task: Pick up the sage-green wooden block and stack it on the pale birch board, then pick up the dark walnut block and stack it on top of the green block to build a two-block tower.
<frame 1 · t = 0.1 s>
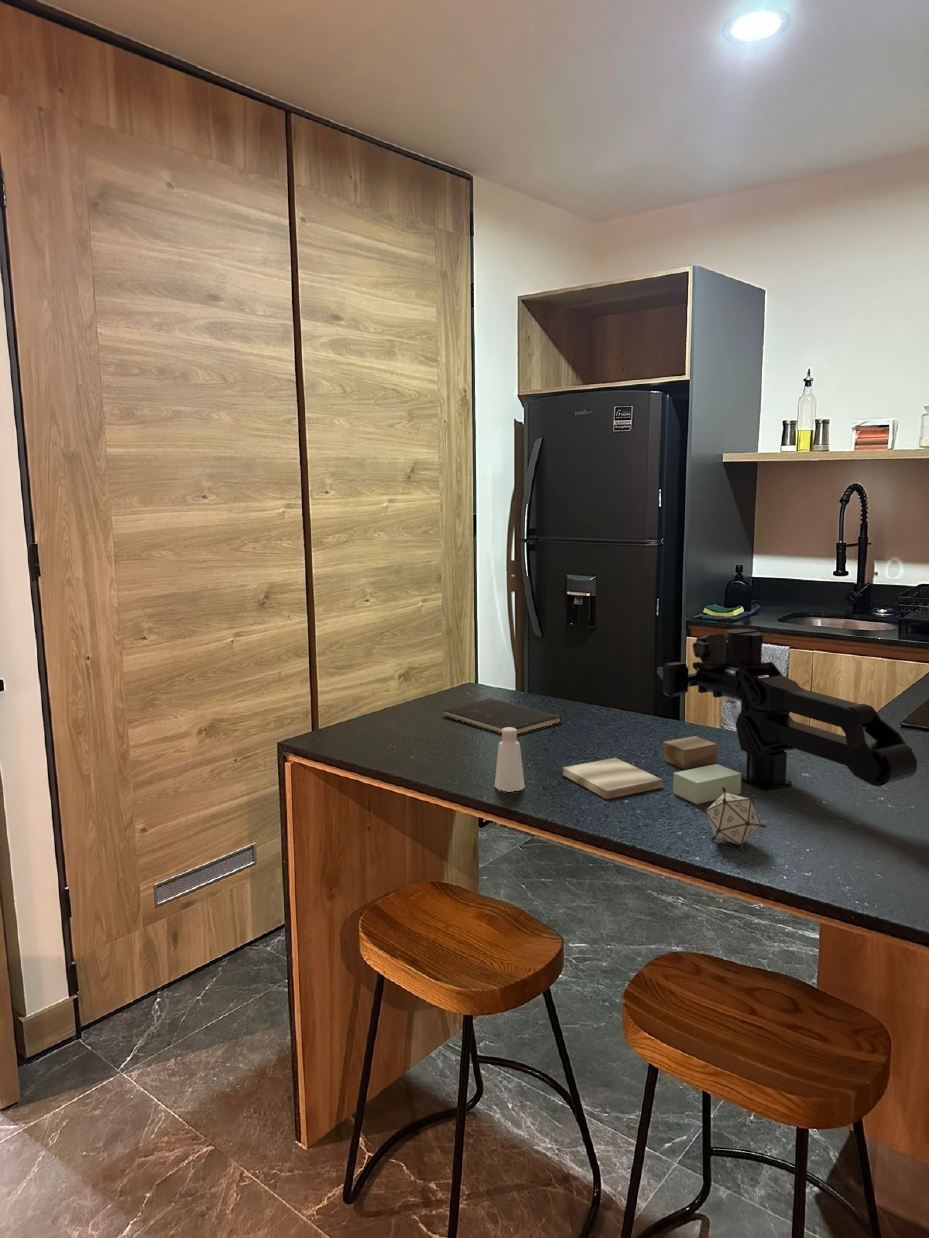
hand: (675, 667, 178), 17 cm above the counter, tool horizontal, fingers open, 9 cm apart
salt shaker: (509, 788, 157), on the counter
birch board: (611, 781, 160), on the counter
green block: (706, 794, 153), on the counter
game die: (731, 844, 132), on the counter
walnut block: (689, 762, 170), on the counter
hardcover book: (501, 722, 202), on the counter
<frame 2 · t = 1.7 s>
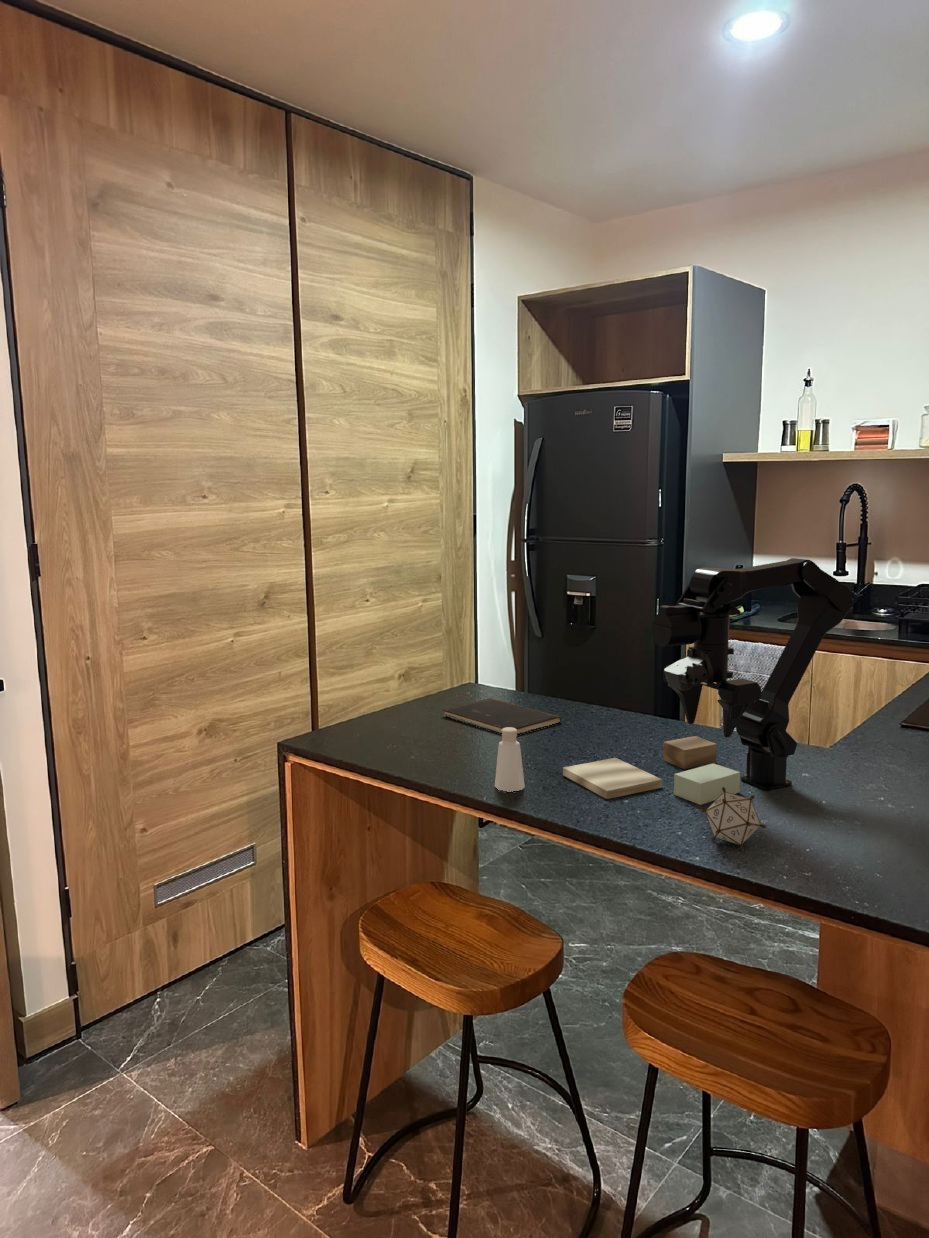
hand: (708, 730, 151), 11 cm above the counter, tool pointing down, fingers open, 9 cm apart
nothing on the counter moved.
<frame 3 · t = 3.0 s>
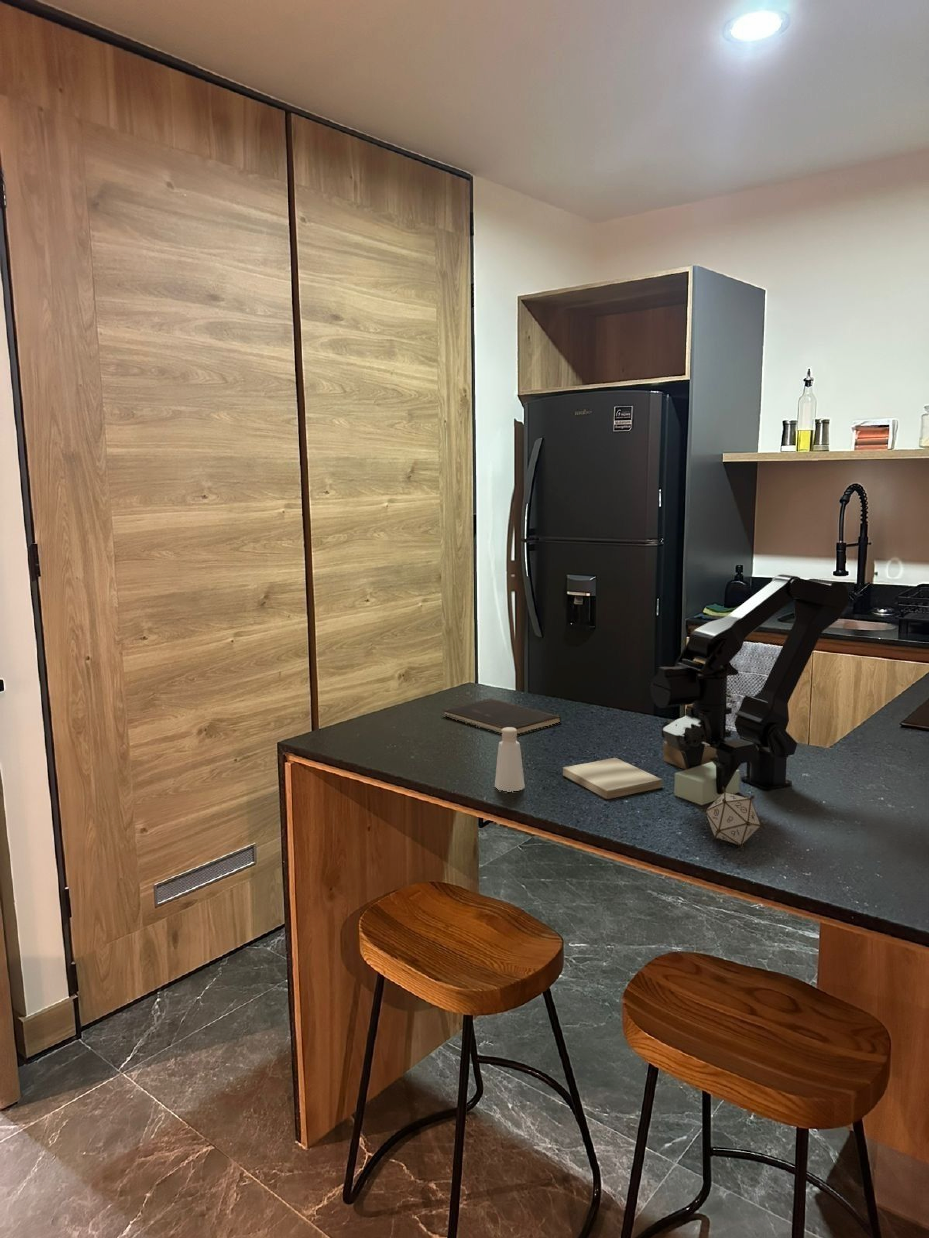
hand: (706, 787, 153), 1 cm above the counter, tool pointing down, fingers closed on green block, 6 cm apart
green block: (706, 793, 153), on the counter, touching gripper
everything else where it was.
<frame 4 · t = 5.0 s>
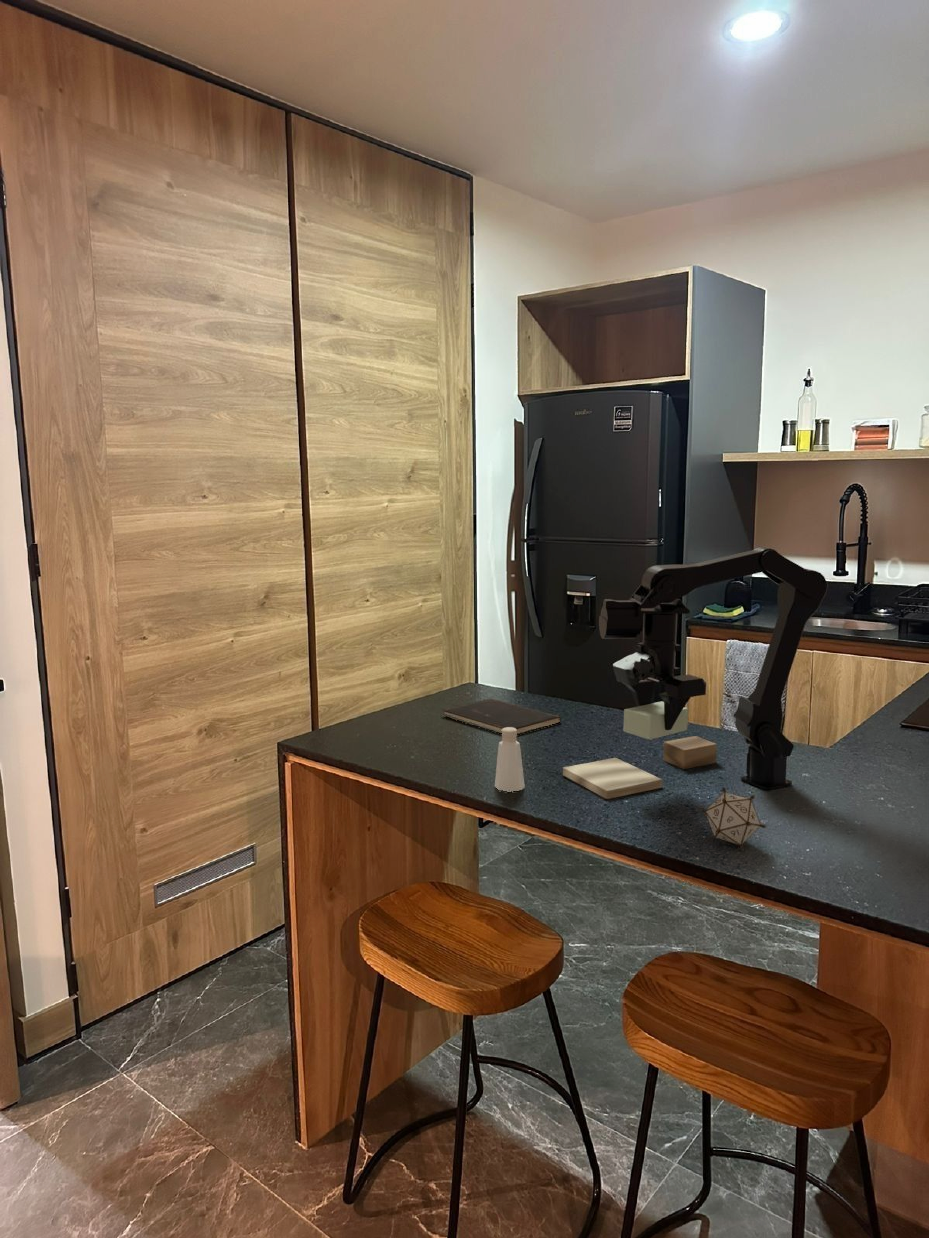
hand: (655, 725, 155), 12 cm above the counter, tool pointing down, fingers closed on green block, 6 cm apart
green block: (655, 730, 155), point 11 cm above the counter, touching gripper
everything else where it was.
when the fingers open (4 cm above the counter, at t = 7.2 s): green block drops 1 cm, resting on birch board.
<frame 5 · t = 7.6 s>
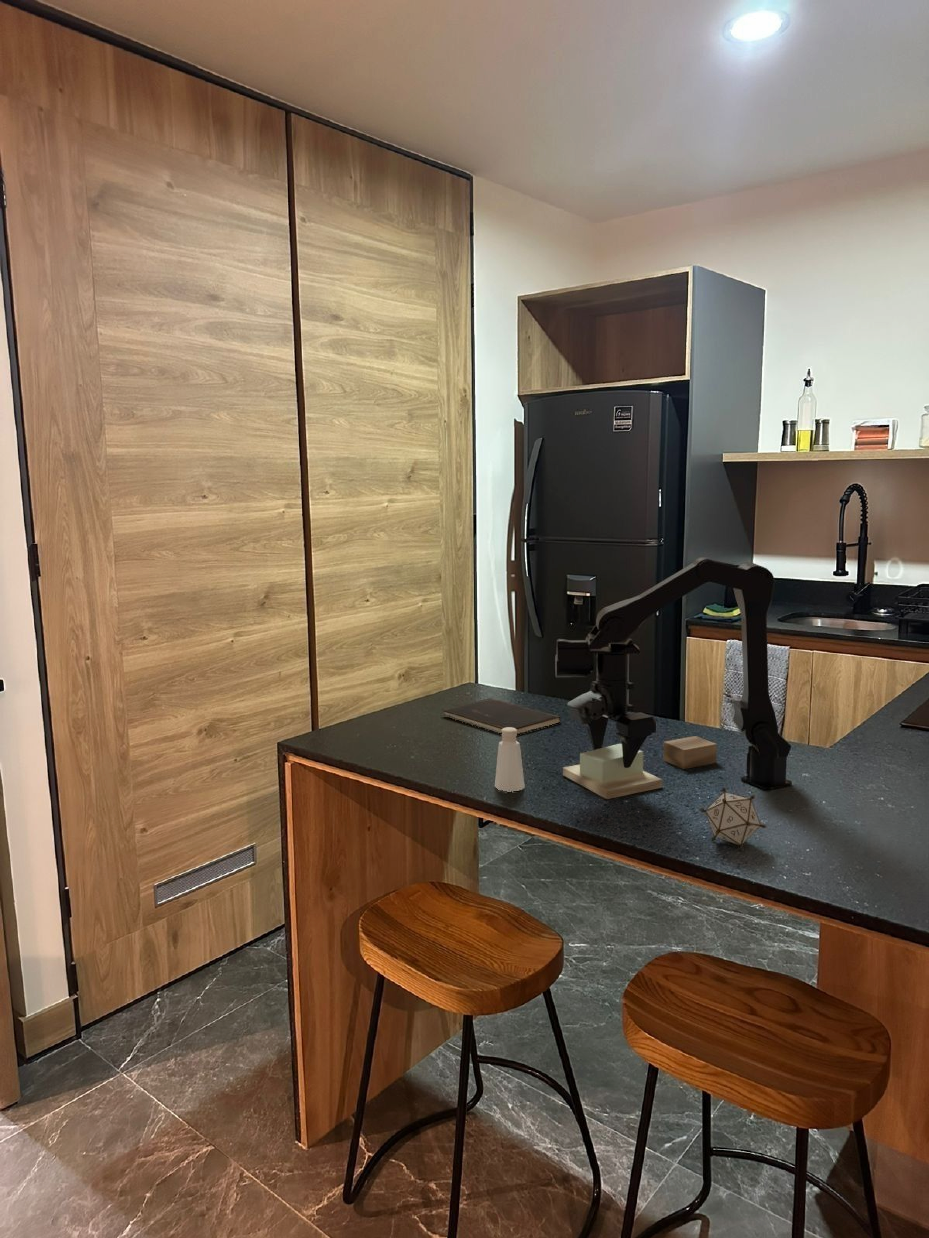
hand: (611, 760, 159), 4 cm above the counter, tool pointing down, fingers open, 9 cm apart
green block: (611, 773, 160), point 1 cm above the counter, touching birch board
everything else where it was.
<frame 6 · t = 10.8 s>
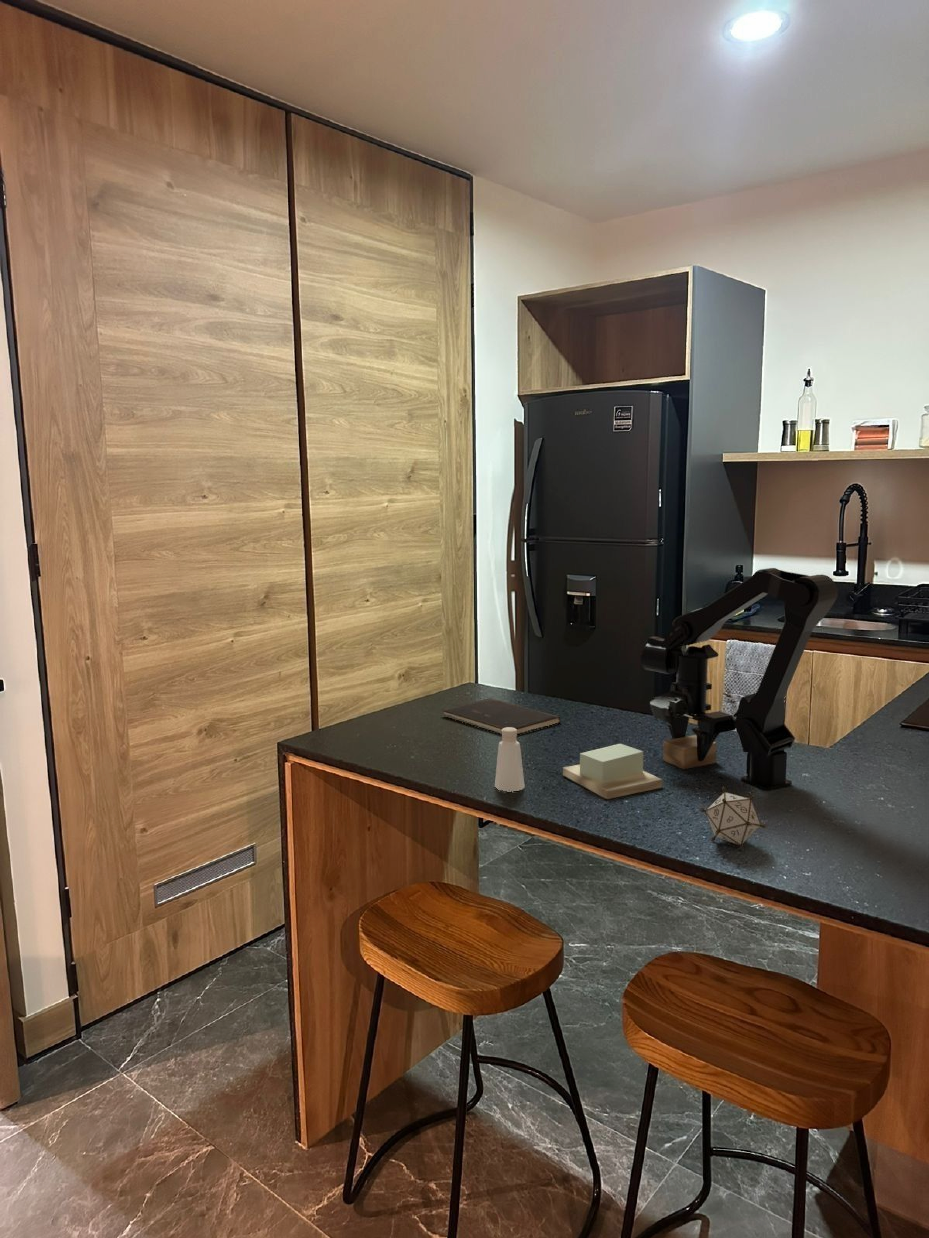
hand: (689, 756, 170), 1 cm above the counter, tool pointing down, fingers closed on walnut block, 6 cm apart
walnut block: (689, 761, 170), on the counter, touching gripper
everything else where it was.
when the fingers open (7 cm above the counter, at t = 14.9 s): walnut block stays where it is, resting on green block.
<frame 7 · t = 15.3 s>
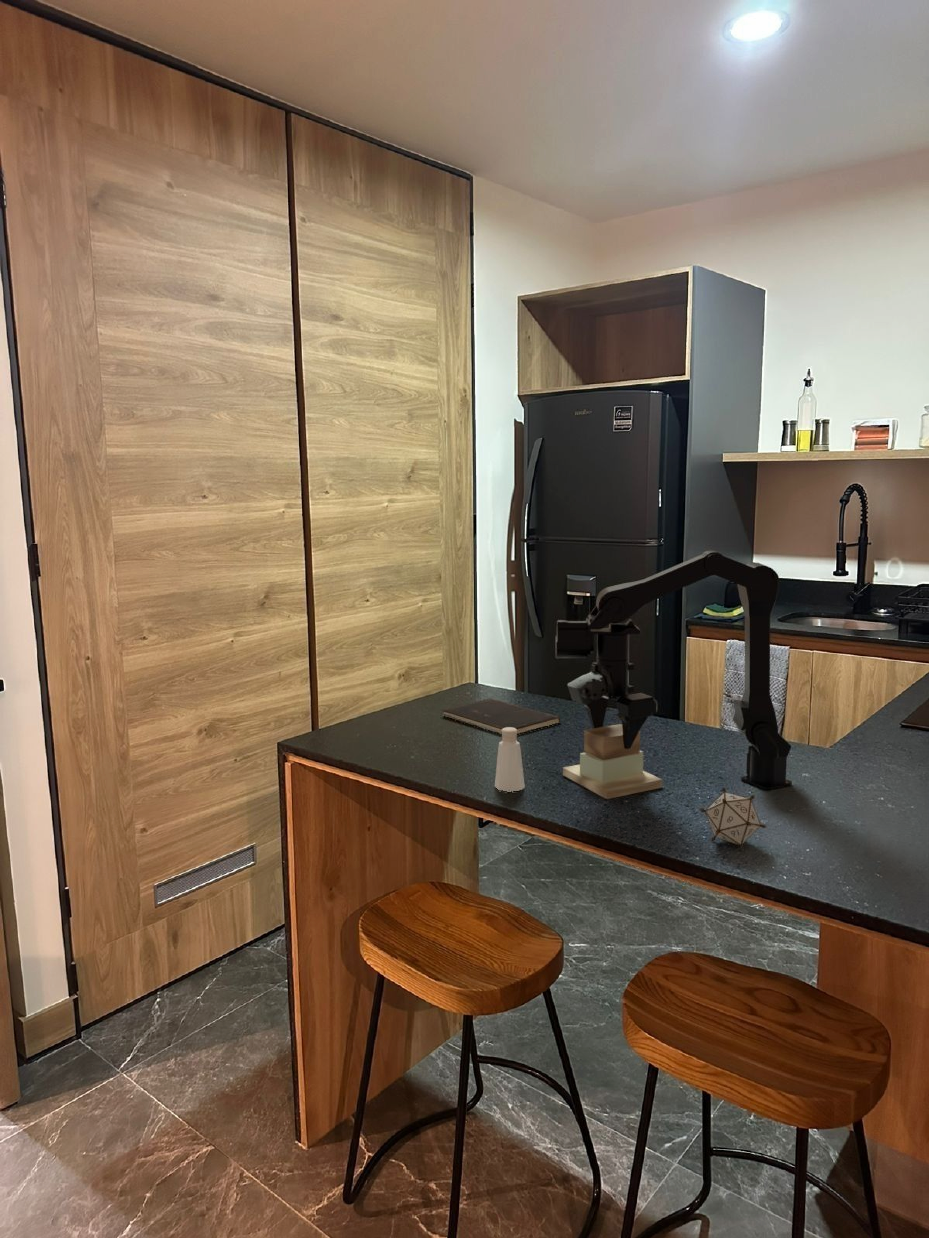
hand: (611, 741, 159), 7 cm above the counter, tool pointing down, fingers open, 9 cm apart
green block: (611, 773, 160), point 1 cm above the counter, touching birch board, walnut block
walnut block: (611, 752, 159), point 5 cm above the counter, touching green block
everything else where it was.
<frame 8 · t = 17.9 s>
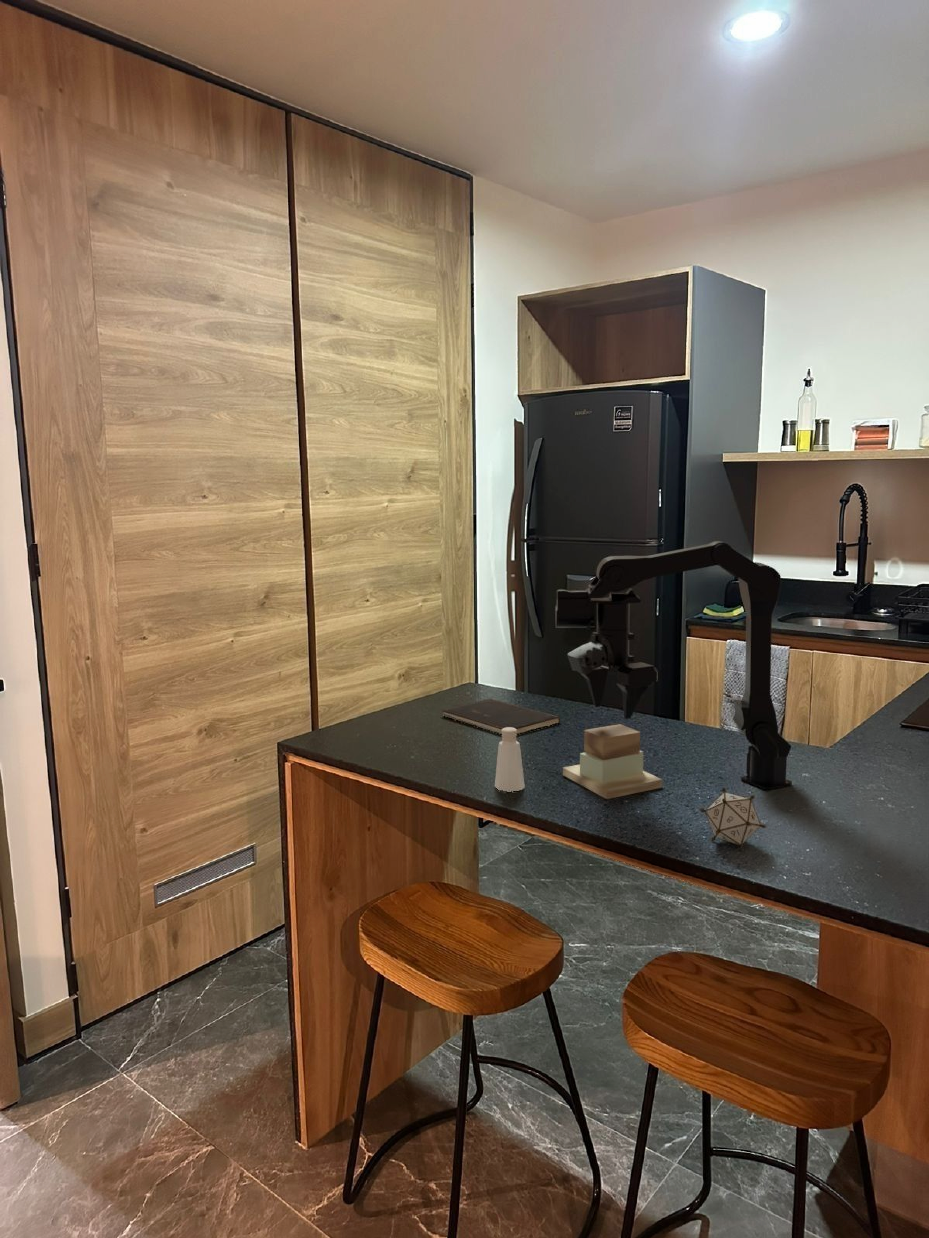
hand: (612, 712, 158), 13 cm above the counter, tool pointing down, fingers open, 9 cm apart
nothing on the counter moved.
at the end: green block 0.0 cm off-centre on the birch board, point 1.5 cm above the birch board's base; walnut block 0.0 cm off-centre on the birch board, point 5.5 cm above the birch board's base; walnut block tilted 0° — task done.
